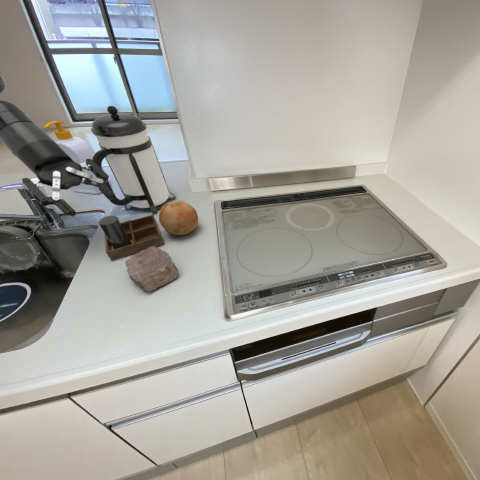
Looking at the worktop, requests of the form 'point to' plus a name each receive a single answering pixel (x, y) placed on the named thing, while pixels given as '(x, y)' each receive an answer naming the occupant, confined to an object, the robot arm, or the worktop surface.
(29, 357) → the worktop surface
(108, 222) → the dark grey cylinder
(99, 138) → the coffee press
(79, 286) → the worktop surface
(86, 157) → the soap bottle
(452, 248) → the worktop surface
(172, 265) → the stone
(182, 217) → the onion
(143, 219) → the brown compartment tray
